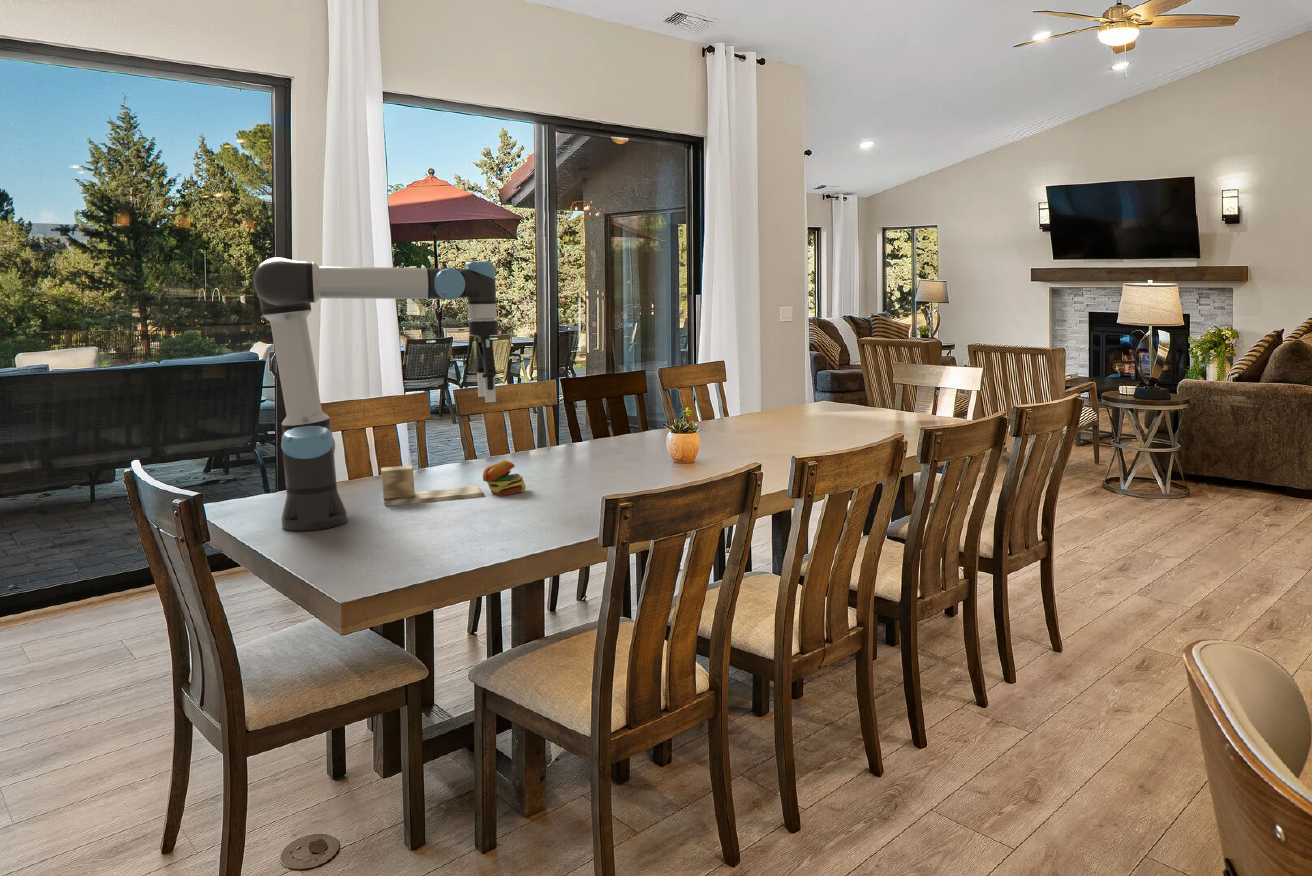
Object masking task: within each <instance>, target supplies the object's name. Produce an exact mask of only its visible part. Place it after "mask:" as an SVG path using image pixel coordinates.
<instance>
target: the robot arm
mask: <svg viewBox="0 0 1312 876" xmlns="http://www.w3.org/2000/svg"><path fill="white" fill-rule="evenodd" d="M496 281H497V279H496V273H495V265H494V264H493V262H491V261H467V262H466V263H465V268H462V269H454V268H452V267H445V268H444V267H443V268H432V267H431V268H430V267H429V268H426V267H424V268H423V267H385V266H384V267H383V266H382V267H380V266H378V267H377V266H375V267H373V266H366V267H365V266H328V265H327V266H325V265H324V266H323V265H322V266H321V265H318V264H317V263H315V261H301V260H293V259H288V258H285V257H271V258H269V259H268V258H267V259H266V260H264V261H263V262H261V263H260V264H259V265H258V267H256V269H255V272H254V274H253V288H254V290H255V292H256V293H257V295H258V298H259V303H260V304H259V305H260V310H261V314H262V317H263V318H265V319H266V320H267V321H268V322H270V324H269V325H270V327H271V328H270V329H271V333H272V334H271V335H272V340H273V346H274V347H273V348H274V352H275V357H276V362H277V368H278V374H279V379H280V386H281V391H282V397H283V403H284V409H285V413H286V415H285V418H284V419H283V420H282V422H281V427H282V428H281V430H282V436H281V442H280V447H281V450H282V458H283V459H282V461H283V469H284V470H283V471H284V477H285V478H284V479H285V489H286V498H285V502H284V506H283V511H282V514H281V526H282V527H281V528H283V529H284V530H286V531H295V532H307V531H310V532H311V531H317V530H318V531H319V530H325V529H328V528H329V529H331V528H333V527H337V526H340V525H342V524H345V523H346V522H347V521H348V513H347V510H346V507H345V505H344V503H343V500H342V498H341V496H340V494H339V492H338V485H337V484H338V483H337V474H336V472H337V471H336V464H335V463H336V462H335V450H336V442H335V438H334V437H333V431H332V425H331V419H330V416H329V415H328V414H327V413H325V412H323V409H322V403H321V398H320V391H319V386H318V385H319V384H318V379H317V373H316V367H315V361H314V356H313V349H312V343H311V338H310V337H311V336H310V331H309V325H308V320H307V318H308V316H309V315H310V313H312V306H311V303H313V304H314V303H315V304H316V303H317V302H318V301H319V300H321V299H351V300H352V299H354V300H355V299H360V300H363V299H366V300H367V299H369V300H370V299H371V300H372V299H374V300H375V299H381V300H382V299H383V300H387V299H388V300H391V299H393V300H394V299H395V300H397V299H399V300H401V299H402V300H406V299H407V300H408V299H410V300H411V299H412V300H416V299H417V300H420V299H421V300H423V299H424V300H427V299H429V300H447V301H449V300H451V301H452V300H456V299H467V317H468V318H467V319H468V320H470V321H469V322H468V332H469V335H470V336H476V337H475V347H476V348H475V370H476V374H477V376H476V378H477V395H478V398H480V397H481V398H482V397H484V400H485V401H484V402H485V403H496V402H497V395H496V393H497V392H496V378H495V377H496V375H497V372H496V363H495V355H494V348H493V347H494V346H493V343H494V340H493V339H490V337H491V336H496V335H497V334H498V332H499V331H498V329H499V328H498V327H499V326H498V321H497V320H496V319H497V317H498V313H497V312H498V311H499V310H500V309H499V307H498V306H497V289H496V288H497V285H496Z"/></svg>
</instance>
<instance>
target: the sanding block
mask: <svg viewBox="0 0 1312 876" xmlns="http://www.w3.org/2000/svg"><path fill="white" fill-rule="evenodd" d="M380 471H381V472H380V473H381V474H380V475H381V483H382V499H383V498H384V500H383V502H384V501H386V500H397V499H407V498H415V492H416V491H415V481H414V479H415V478H414V469H413V466H412V465H410V464H409V465H399V466H389V467H387V466H386V467H380Z"/></svg>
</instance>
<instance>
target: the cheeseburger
mask: <svg viewBox="0 0 1312 876" xmlns="http://www.w3.org/2000/svg"><path fill="white" fill-rule="evenodd" d="M514 468H515V464H514V463H513V462H511V461H509V460H506V459H503V460H501V461H499V462H498V463H495V464H492V465H489V466H488V467H485V469H484V470H483V473H482V480H483V482H486V483H487V485H488V488H489V490H490V492H491V494H493V495H495V496H508V495H511V494H516V493H520V492H521V493H524V492H525V490H526V489H527V488H526V484H525V480H524V479H523V478H524V477H523V476H522V475H520V473H513V474H510V473H511V472H512V469H514Z"/></svg>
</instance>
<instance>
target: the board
mask: <svg viewBox="0 0 1312 876" xmlns="http://www.w3.org/2000/svg"><path fill="white" fill-rule="evenodd" d="M484 495H485V494H484V491H483V490H482V488H481V487H480V486H479V485H476V486H474V485H473V486H467V487H466V486H465V487H457V488H456V487H455V488H446V489H445V488H444V489H443V488H442V489H435V490H433V489H432V490H423V491H415V498H407V499H397V500H386V501H384V498H383V497H382V499H383V504H384V506H385V507H386V506H387V507H388V506H399V505H407V504H408V505H409V504H418V503H429V502H438V501H447V500H460V499H470V498H480V497H484Z"/></svg>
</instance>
